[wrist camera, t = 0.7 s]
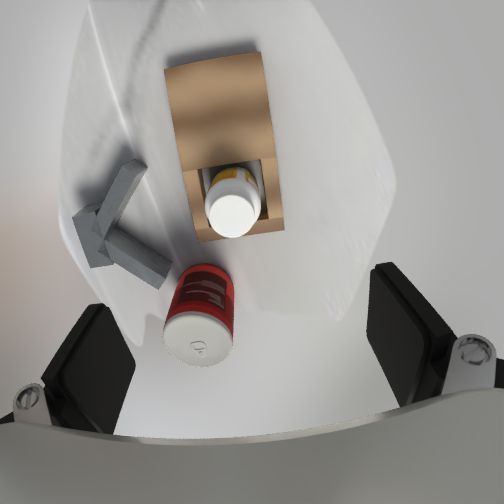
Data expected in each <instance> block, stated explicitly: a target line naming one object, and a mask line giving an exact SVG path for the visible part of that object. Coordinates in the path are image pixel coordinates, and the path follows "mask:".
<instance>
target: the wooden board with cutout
mask: <svg viewBox="0 0 504 504" xmlns="http://www.w3.org/2000/svg"><path fill="white" fill-rule="evenodd" d="M164 73H165V79H166V85H167V91H168V97H169V103H170V109H171V114H172V120H173V125H174V131H175V136H176V141H177V146H178V152H179V157H180V162H181V167H182V171H183V176H184V181H185V186H186V190H187V195H188V200H189V204H190V209H191V213H192V217H193V222H194V226H195V230H196V235H197V239H198V242H205V241H212V240H218V239H225V238H230V237H224V236H222V235H220V234H218V233H217V232H216V231H215V230H214V229H213V228H212V226H211V224H210V221H209V219H208V218H207V215H206V212H205V199H206V192H205V187H204V182H203V177H202V172H201V169H202V168H207V167H213V166H219V165H225V164H231V163H238V162H244V161H251V160H258V159H260V162H261V169H262V176H263V184H264V191H265V198H266V206H267V212H261V213H260V214H259V217H258V219H257V221H256V222H255V223H254V224H253V225H252V227H251V229H250V230H249V231H248V232H247V233H245V234H244V235H242V236H246V235H253V234H260V233H267V232H274V231H281V230H285V229H284V220H283V211H282V202H281V193H280V185H279V177H278V169H277V161H276V153H275V145H274V138H273V130H272V123H271V116H270V109H269V102H268V95H267V89H266V82H265V76H264V69H263V63H262V57H261V52H253V53H245V54H238V55H231V56H224V57H218V58H213V59H207V60H202V61H197V62H193V63H188V64H183V65H179V66H175V67H171V68H167V69H164Z"/></svg>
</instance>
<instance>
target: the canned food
mask: <svg viewBox="0 0 504 504" xmlns="http://www.w3.org/2000/svg"><path fill="white" fill-rule="evenodd" d="M233 321H234V286H233V284H232V281H231V279H230V278H229V276H228V275H227V274H226V273H225V272H224V271H223V270H222V269H220V268H219V267H216V266H214V265H210V264H198V265H194V266H192V267H190V268H189V269H188V270H186V271H185V272H184V273H183V274H182V276H181V277H180V279H179V281H178V284H177V287H176V290H175V293H174V296H173V299H172V302H171V305H170V309H169V312H168V315H167V318H166V321H165V325H164V328H163V336H162V338H163V343H164V346H165V348H166V349H167V351H168V352H169V353H170V354H171V355H172V356H173V357H174V358H175V359H177V360H178V361H180V362H182V363H185V364H187V365H190V366H195V367H210V366H215V365H217V364H220V363H221V362H223V361H224V360H226V358H228V356H229V355H230V353H231V350H232V346H233V323H234V322H233Z"/></svg>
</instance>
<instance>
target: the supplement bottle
mask: <svg viewBox="0 0 504 504" xmlns="http://www.w3.org/2000/svg"><path fill="white" fill-rule="evenodd" d="M260 210H261V201H260V195H259V190H258V185H257V182H256V180H255V178H254V176H253V175H252V174H251V173H250V172H249V171H248V170H246V169H244V168H241V167H228V168H225V169H223V170H221V171H220V172H219V173H218V174H217V175H216V176H215V177H214V179H213V181H212V183H211V186H210V188H209V190H208V193H207V195H206V199H205V212H206V215H207V218H208V219H209V221H210V224H211V226H212V228H213V229H214V230H215V231H216V232H217V233H218V234H220V235H222V236H224V237H230V238H234V237H239V236H242V235H244V234H245V233H247V232H248V231H249V230H250V229H251V227H252V225H253V224H254V223H255V222H256V221H257V219H258V217H259V214H260Z"/></svg>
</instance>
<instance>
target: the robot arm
mask: <svg viewBox="0 0 504 504" xmlns="http://www.w3.org/2000/svg"><path fill="white" fill-rule="evenodd" d="M368 306H369V307H368V319H367V330H366V332H367V338H368V341H369V343H370V345H371V346H372V349H373V351H374V353H375V355H376V357H377V359H378V361H379V363H380V365H381V367H382V369H383V372H384V374H385V376H386V378H387V380H388V382H389V384H390V386H391V388H392V391H393V393H394V395H395V397H396V399H397V401H398V404H399V406H400V408H397V409H393V410H390V411H386V412H383V413H379V414H375V415H371V416H367V417H363V418H358V419H354V420H350V421H346V422H341V423H337V424H332V425H327V426H322V427H316V428H311V429H305V430H298V431H292V432H284V433H277V434H268V435H259V436H248V437H234V438H214V439H165V438H164V439H163V438H162V439H161V438H144V437H143V438H142V437H130V436H120V435H113V433H114V429H115V426H116V423H117V420H118V417H119V414H120V411H121V408H122V405H123V402H124V399H125V396H126V393H127V390H128V387H129V385H130V382H131V379H132V376H133V374H134V371H135V366H136V365H135V360H134V358H133V356H132V354H131V352H130V350H129V348H128V346H127V344H126V342H125V340H124V338H123V336H122V334H121V332H120V329H119V327H118V325H117V323H116V321H115V319H114V316H113V314H112V312H111V310H110V308H109V307H106V305H105V304H103V303H100V304H91V305H89V306H88V307H87V308H86V309H85V311H84V312H83V314H82V315H81V317H80V318H79V319H78V321H77V322H76V324H75V325H74V327H73V328H72V330H71V331H70V333H69V334H68V336H67V337H66V339H65V340H64V342H63V343H62V345H61V346H60V348H59V349H58V351H57V352H56V354H55V356H54V357H53V359H52V360H51V362H50V364H49V365H48V367H47V368H46V370H45V372H44V373H43V375H42V377H41V379H42V381H43V382H44V384H45V387H44V389H43V387H42V386H41V385H40V384H36V383H33V384H29V385H26V386H24V387H23V388H22V389H20V390H19V392H18V393H17V394H16V396H15V398H14V400H13V412H11V413H10V414H8V415H6V416H5V417H3V418H1V419H0V504H504V360H503V359H499V358H496V349H495V348H494V346H493V344H492V343H491V342H490V341H489V340H487V339H486V338H485V337H483V336H480V335H476V334H467V335H463V336H461V337H459V338H457V337H456V335H455V334H454V333H453V331H452V330H451V328H450V327H449V326H448V325H447V324H446V323H445V321H444V320H443V319H442V318H441V316H440V315H439V314H438V313H437V312H436V310H435V309H434V308H433V307H432V306H431V304H430V303H429V302H428V301H427V300H426V299H425V298H424V296H423V295H422V294H421V293H420V292H419V291H418V290H417V289H416V287H415V286H414V285H413V284H412V283H411V282H410V281H409V280H408V278H407V277H406V276H405V275H404V274H403V273H402V272H401V271H400V270H399V269H398V268H397V266H396V265H395V264H394V263H393V262H387V263H382V264H376V266H375V269H372V270H371V272H370V291H369V305H368Z"/></svg>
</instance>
